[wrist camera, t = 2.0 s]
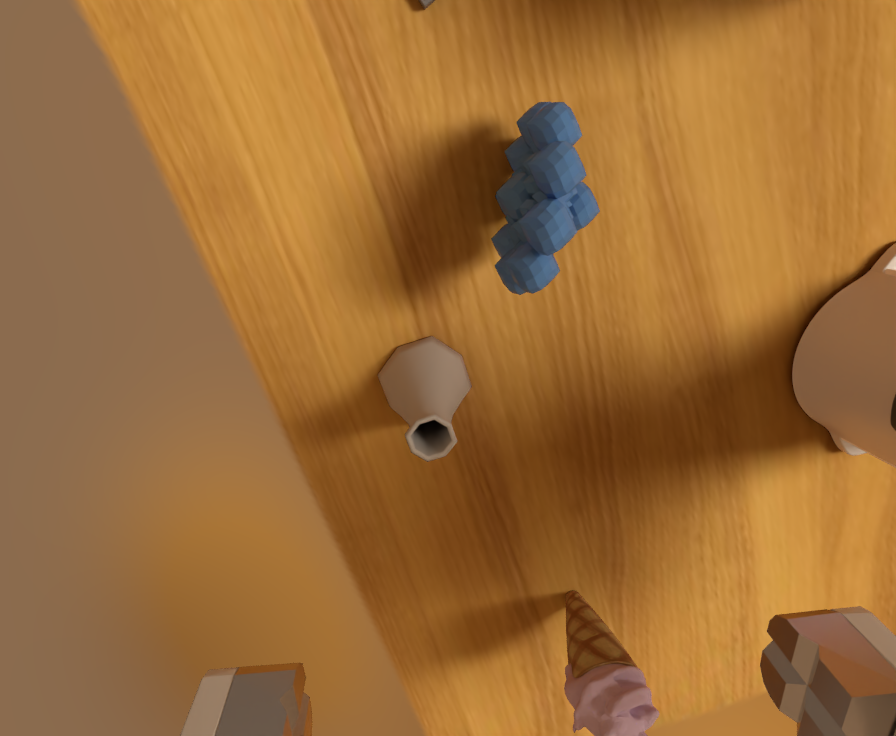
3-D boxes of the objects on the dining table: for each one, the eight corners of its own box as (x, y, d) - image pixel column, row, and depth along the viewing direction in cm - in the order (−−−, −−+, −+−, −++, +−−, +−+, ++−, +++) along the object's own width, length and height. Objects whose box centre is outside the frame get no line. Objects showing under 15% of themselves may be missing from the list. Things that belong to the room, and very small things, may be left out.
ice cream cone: (542, 627, 55) (589, 787, 41) (529, 581, 53) (575, 734, 39) (606, 610, 55) (676, 765, 41) (596, 563, 53) (667, 710, 39)
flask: (361, 372, 44) (350, 430, 34) (434, 319, 42) (443, 365, 33) (416, 435, 46) (420, 506, 37) (486, 386, 45) (508, 447, 36)
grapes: (553, 281, 42) (608, 327, 31) (467, 268, 41) (492, 310, 30) (592, 118, 38) (672, 103, 27) (498, 99, 37) (541, 75, 26)
